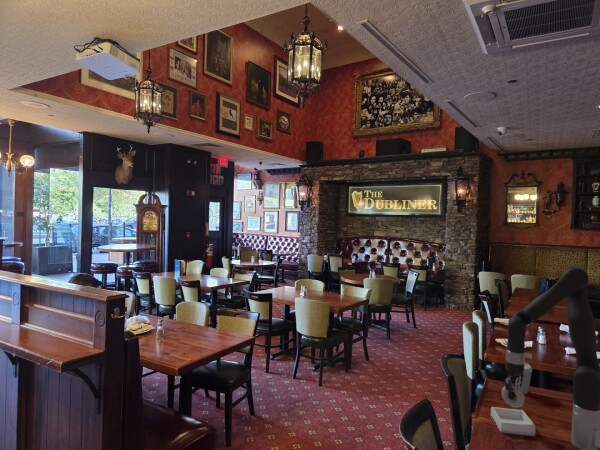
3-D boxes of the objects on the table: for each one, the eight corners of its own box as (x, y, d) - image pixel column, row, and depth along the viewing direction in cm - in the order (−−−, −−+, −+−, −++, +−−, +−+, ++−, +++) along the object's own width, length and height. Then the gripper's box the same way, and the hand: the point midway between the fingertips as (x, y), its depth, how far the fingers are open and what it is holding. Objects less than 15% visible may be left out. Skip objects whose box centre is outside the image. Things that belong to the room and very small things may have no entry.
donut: (499, 403, 182) (500, 381, 181) (503, 401, 184) (504, 380, 183) (522, 412, 174) (523, 390, 173) (525, 410, 176) (527, 388, 175)
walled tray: (522, 419, 185) (522, 410, 184) (535, 436, 171) (535, 426, 171) (490, 416, 187) (491, 406, 187) (500, 432, 173) (501, 422, 173)
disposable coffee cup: (534, 397, 208) (535, 369, 208) (512, 394, 210) (513, 367, 210) (527, 388, 218) (528, 361, 218) (506, 386, 221) (507, 359, 220)
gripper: (515, 366, 171) (513, 405, 171) (531, 360, 179) (529, 397, 179) (498, 361, 177) (496, 398, 177) (514, 355, 185) (512, 390, 186)
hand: (513, 397), depth 178 cm, fingers closed on donut, 3 cm apart
